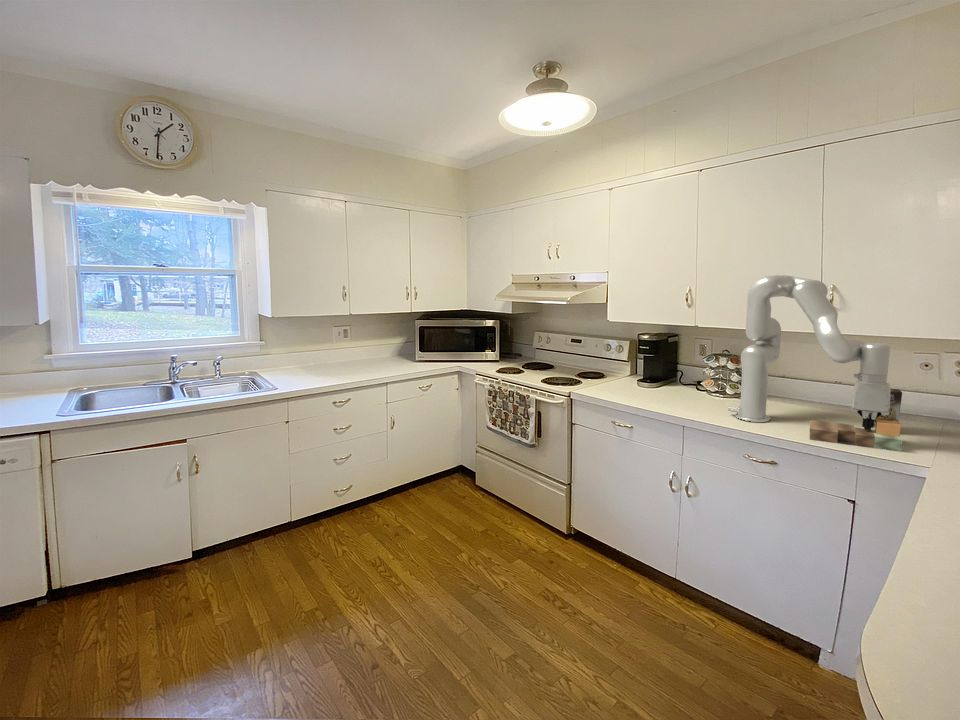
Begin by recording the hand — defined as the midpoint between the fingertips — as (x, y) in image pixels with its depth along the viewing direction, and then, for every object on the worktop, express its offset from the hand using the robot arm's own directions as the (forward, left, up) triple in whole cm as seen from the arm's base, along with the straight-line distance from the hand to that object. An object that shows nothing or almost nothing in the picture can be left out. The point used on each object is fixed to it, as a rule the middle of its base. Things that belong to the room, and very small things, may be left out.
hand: (867, 429), depth 165 cm
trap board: (-4, 0, -5) cm, 6 cm away
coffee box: (+6, +18, -5) cm, 20 cm away
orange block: (+5, 0, -1) cm, 5 cm away
